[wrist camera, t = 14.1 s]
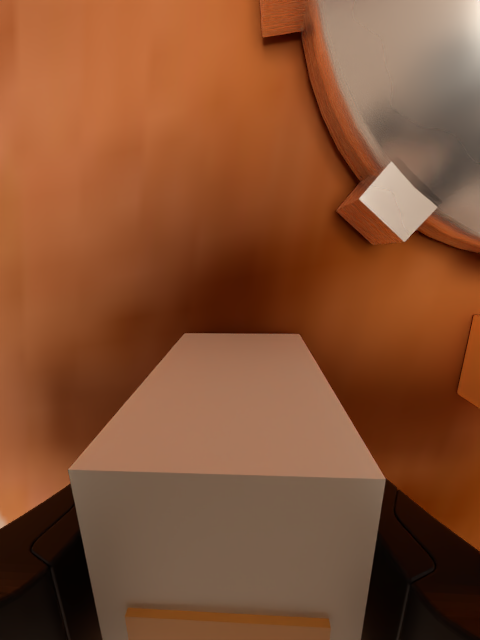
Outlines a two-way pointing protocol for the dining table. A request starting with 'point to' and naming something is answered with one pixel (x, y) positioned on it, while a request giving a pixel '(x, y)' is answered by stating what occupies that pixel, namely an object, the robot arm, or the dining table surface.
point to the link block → (230, 499)
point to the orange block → (471, 366)
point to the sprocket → (397, 108)
